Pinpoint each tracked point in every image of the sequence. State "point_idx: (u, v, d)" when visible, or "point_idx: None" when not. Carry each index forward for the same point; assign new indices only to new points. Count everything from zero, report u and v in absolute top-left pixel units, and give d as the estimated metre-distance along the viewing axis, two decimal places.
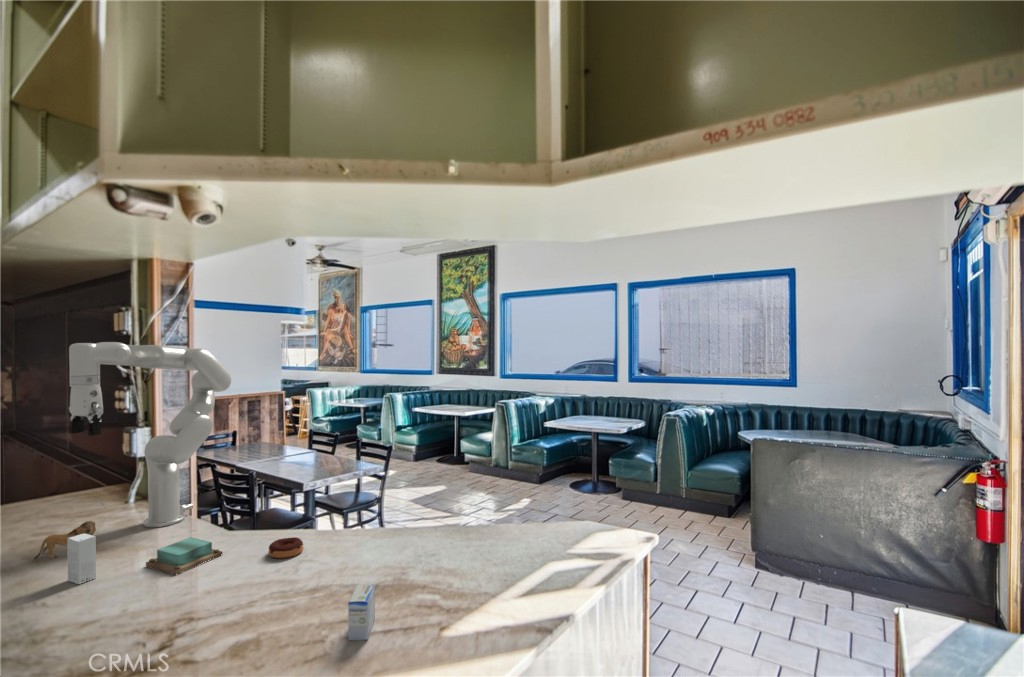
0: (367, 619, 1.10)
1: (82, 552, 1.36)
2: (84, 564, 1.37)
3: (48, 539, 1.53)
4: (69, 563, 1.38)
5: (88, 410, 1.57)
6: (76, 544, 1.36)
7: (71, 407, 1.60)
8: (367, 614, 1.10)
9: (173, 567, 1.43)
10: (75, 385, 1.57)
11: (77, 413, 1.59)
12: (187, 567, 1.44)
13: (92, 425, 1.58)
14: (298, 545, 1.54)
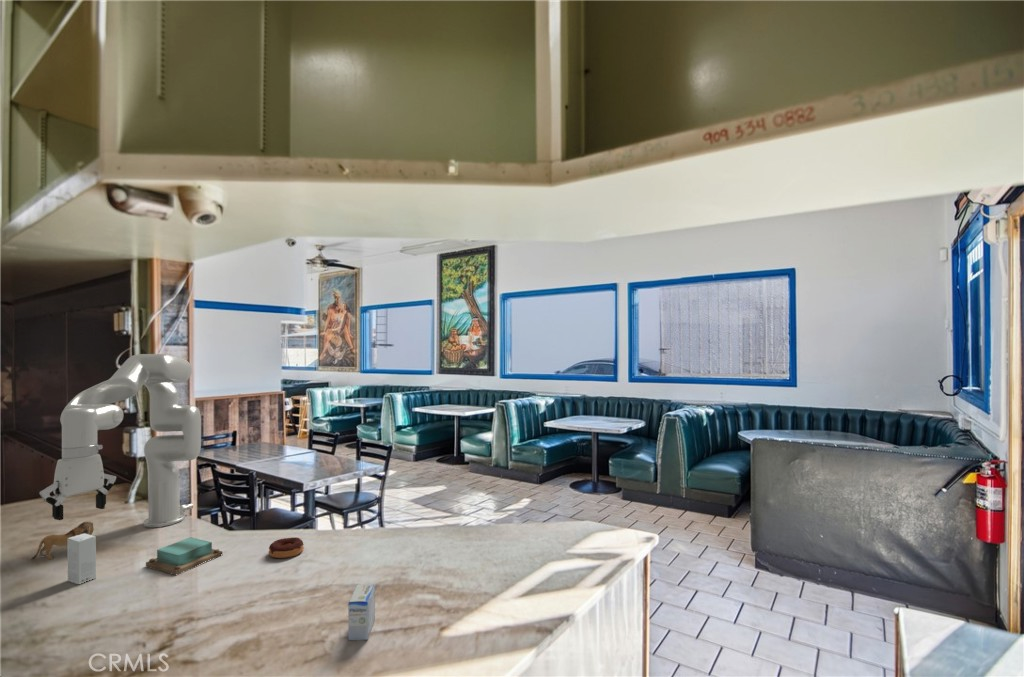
0: (367, 619, 1.10)
1: (82, 552, 1.36)
2: (84, 564, 1.37)
3: (46, 539, 1.53)
4: (69, 563, 1.38)
5: None
6: (76, 544, 1.36)
7: (71, 486, 1.35)
8: (367, 614, 1.10)
9: (173, 567, 1.43)
10: (93, 455, 1.39)
11: (85, 489, 1.38)
12: (187, 567, 1.44)
13: None
14: (298, 545, 1.54)
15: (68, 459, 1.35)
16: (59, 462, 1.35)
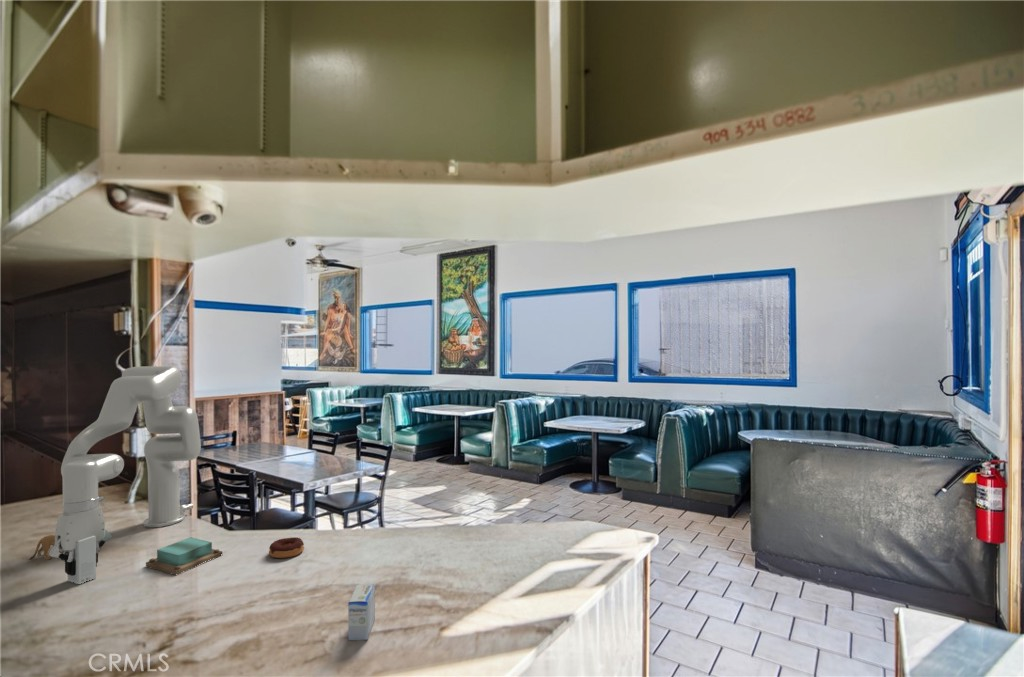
0: (367, 619, 1.10)
1: (82, 552, 1.36)
2: (84, 564, 1.37)
3: (43, 540, 1.52)
4: None
5: None
6: None
7: (72, 540, 1.35)
8: (367, 614, 1.10)
9: (173, 567, 1.43)
10: (94, 508, 1.39)
11: None
12: (187, 567, 1.44)
13: None
14: (299, 545, 1.54)
15: (69, 514, 1.35)
16: (60, 517, 1.35)
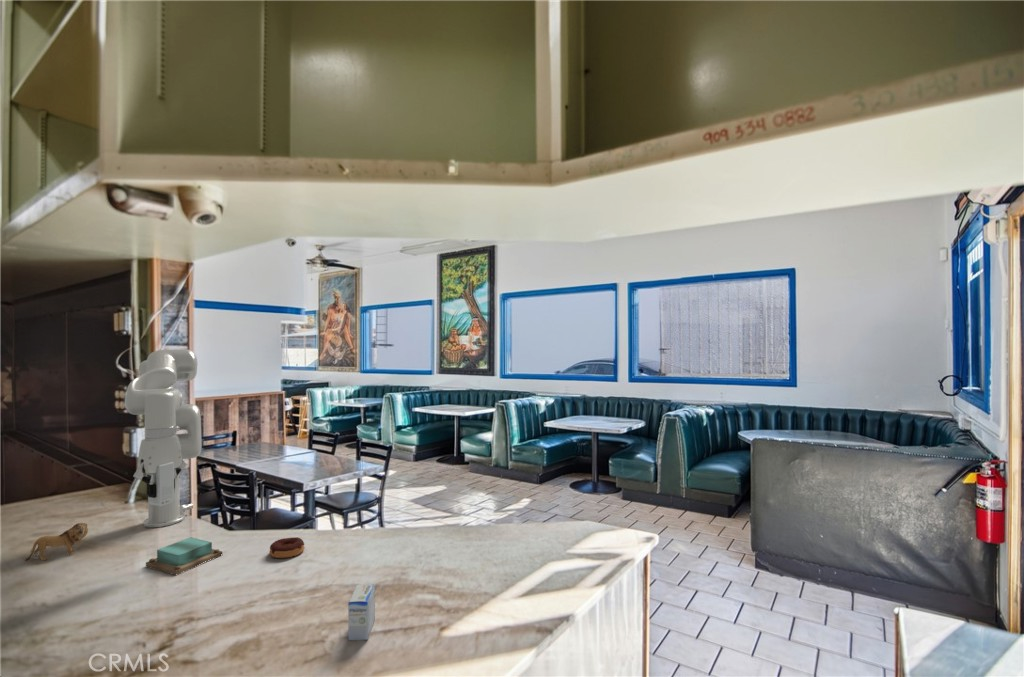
0: (367, 619, 1.10)
1: (162, 476, 1.45)
2: (164, 488, 1.45)
3: (39, 541, 1.52)
4: None
5: None
6: None
7: (154, 464, 1.44)
8: (367, 614, 1.10)
9: (173, 567, 1.43)
10: (173, 436, 1.47)
11: None
12: (187, 567, 1.44)
13: None
14: (299, 545, 1.54)
15: (151, 439, 1.44)
16: (143, 442, 1.43)
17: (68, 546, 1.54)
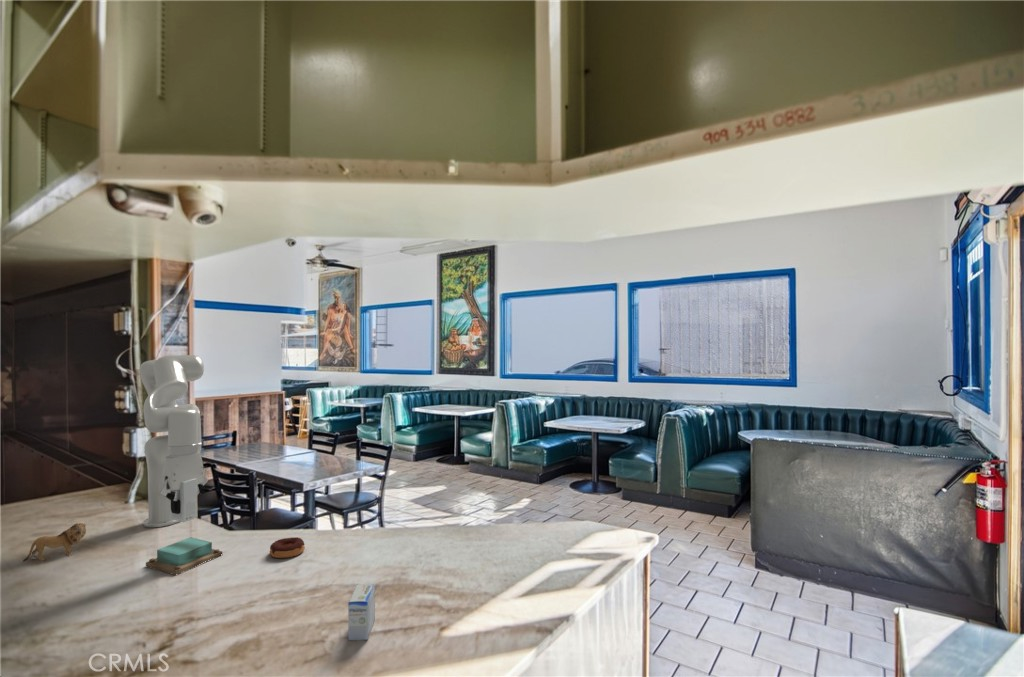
0: (367, 619, 1.10)
1: (186, 492, 1.48)
2: (187, 504, 1.48)
3: (37, 541, 1.51)
4: None
5: None
6: None
7: (178, 481, 1.46)
8: (367, 614, 1.10)
9: (173, 567, 1.43)
10: (196, 453, 1.50)
11: None
12: (187, 567, 1.44)
13: None
14: (299, 545, 1.54)
15: (175, 456, 1.46)
16: (167, 459, 1.46)
17: (66, 546, 1.54)
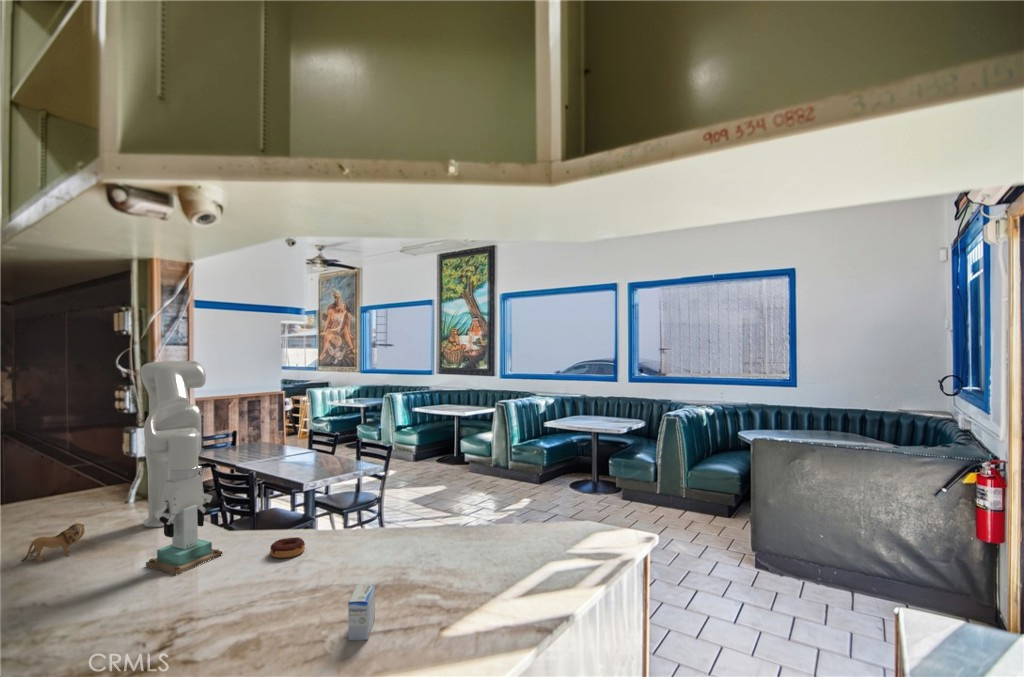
0: (367, 619, 1.10)
1: (186, 519, 1.48)
2: (188, 531, 1.48)
3: (36, 541, 1.51)
4: (174, 530, 1.49)
5: None
6: None
7: (178, 505, 1.46)
8: (367, 614, 1.10)
9: (173, 567, 1.43)
10: (196, 476, 1.50)
11: None
12: (187, 567, 1.44)
13: (202, 515, 1.54)
14: (300, 545, 1.54)
15: (175, 480, 1.46)
16: (167, 483, 1.46)
17: (65, 547, 1.54)
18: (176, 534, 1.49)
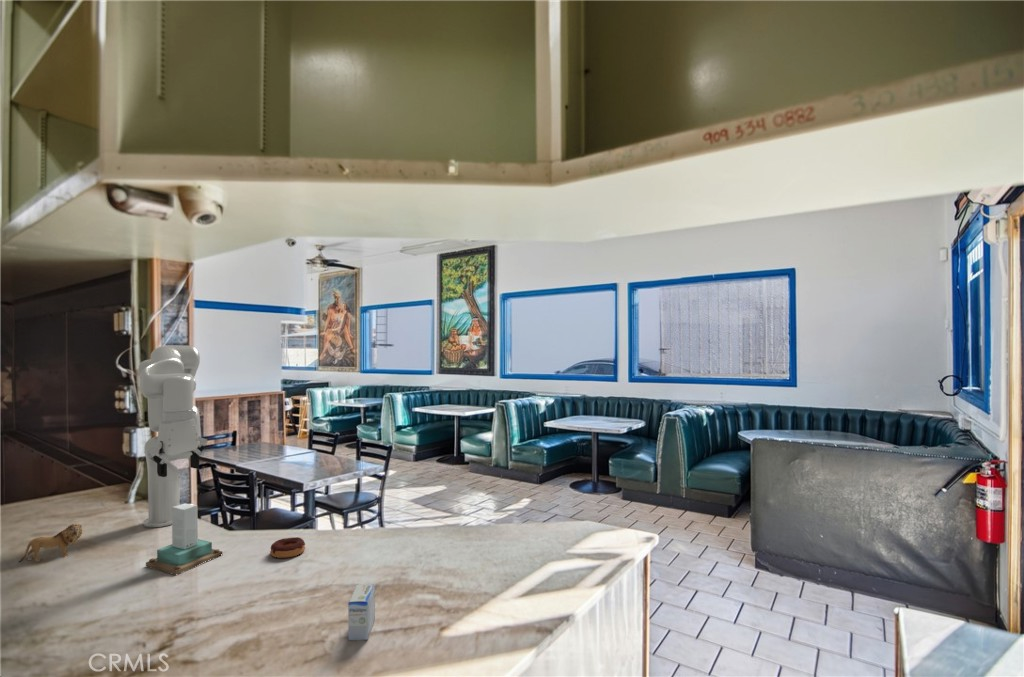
0: (367, 619, 1.10)
1: (186, 519, 1.48)
2: (188, 531, 1.48)
3: (33, 542, 1.51)
4: (174, 530, 1.49)
5: None
6: (181, 512, 1.48)
7: (173, 446, 1.48)
8: (367, 614, 1.10)
9: (173, 567, 1.43)
10: (191, 419, 1.52)
11: (183, 449, 1.51)
12: (187, 567, 1.44)
13: None
14: (300, 545, 1.54)
15: (170, 422, 1.48)
16: (162, 424, 1.47)
17: (62, 547, 1.54)
18: (176, 534, 1.49)
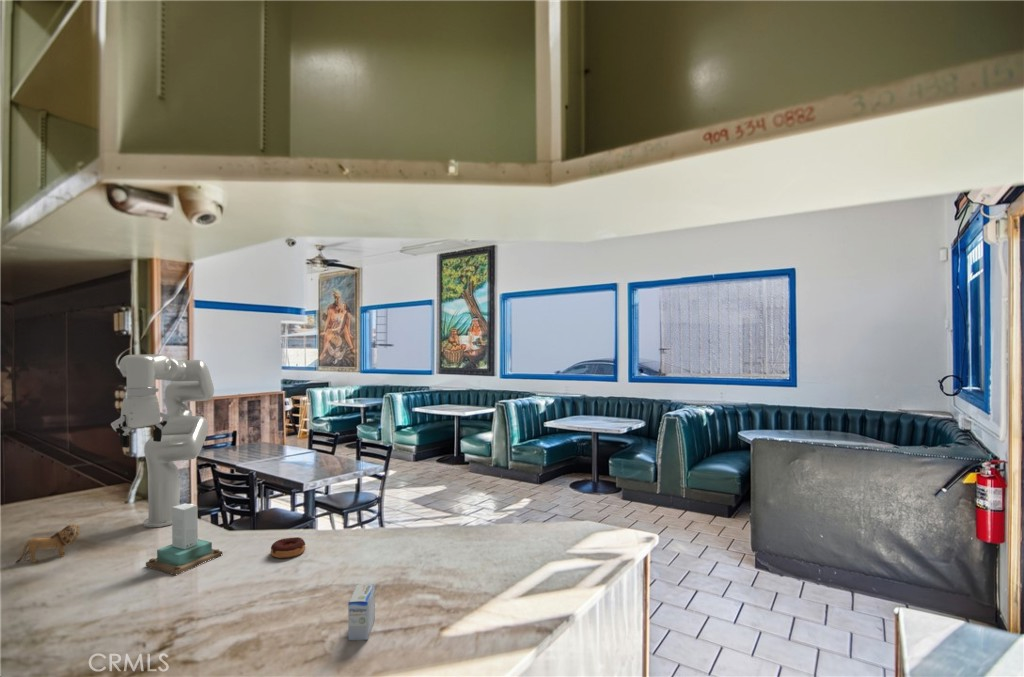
0: (367, 619, 1.10)
1: (186, 519, 1.48)
2: (188, 531, 1.48)
3: (30, 543, 1.50)
4: (174, 530, 1.49)
5: None
6: (181, 512, 1.48)
7: (135, 420, 1.61)
8: (367, 614, 1.10)
9: (173, 567, 1.43)
10: (152, 395, 1.65)
11: (145, 423, 1.64)
12: (187, 567, 1.44)
13: None
14: (300, 545, 1.54)
15: (132, 397, 1.61)
16: (125, 400, 1.61)
17: (59, 548, 1.53)
18: (176, 534, 1.49)
